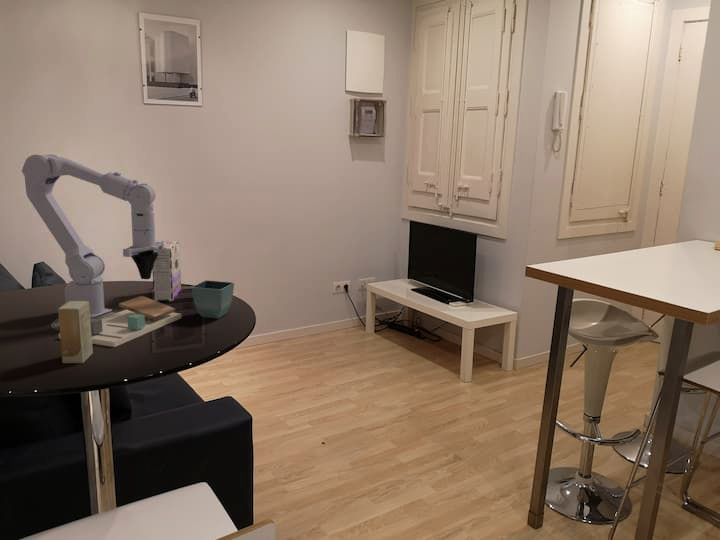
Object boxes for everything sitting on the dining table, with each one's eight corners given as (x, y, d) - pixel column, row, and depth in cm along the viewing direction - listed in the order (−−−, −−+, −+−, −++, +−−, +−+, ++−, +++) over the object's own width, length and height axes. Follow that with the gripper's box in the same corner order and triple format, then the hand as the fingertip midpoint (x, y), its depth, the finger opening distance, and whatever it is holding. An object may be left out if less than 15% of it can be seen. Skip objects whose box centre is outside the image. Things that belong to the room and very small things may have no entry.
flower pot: (222, 321, 155) (221, 289, 153) (191, 319, 157) (190, 286, 155) (235, 313, 164) (234, 282, 162) (206, 310, 165) (205, 280, 164)
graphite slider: (84, 333, 138) (83, 321, 137) (93, 330, 140) (92, 318, 140) (94, 334, 137) (93, 322, 136) (102, 331, 139) (101, 319, 139)
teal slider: (128, 328, 142) (127, 316, 141) (135, 325, 145) (135, 313, 144) (137, 329, 141) (137, 317, 141) (145, 326, 144) (144, 315, 143)
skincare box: (73, 353, 129) (69, 300, 126) (93, 353, 129) (90, 300, 126) (61, 364, 122) (56, 308, 120) (82, 363, 123) (78, 308, 120)
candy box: (163, 290, 187) (160, 240, 184) (181, 290, 188) (180, 240, 185) (152, 301, 174) (150, 247, 170) (173, 301, 174) (171, 247, 171)
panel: (59, 338, 138) (58, 325, 137) (132, 311, 162) (131, 300, 162) (114, 347, 133) (113, 333, 133) (181, 317, 158) (181, 306, 157)
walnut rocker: (118, 306, 150) (119, 303, 150) (141, 298, 159) (141, 295, 159) (153, 320, 148) (154, 317, 148) (175, 311, 156) (175, 308, 156)
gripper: (138, 233, 148) (140, 285, 151) (172, 227, 162) (174, 274, 165) (115, 232, 150) (118, 283, 153) (151, 225, 164) (153, 272, 167)
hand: (145, 278), depth 159 cm, fingers closed
